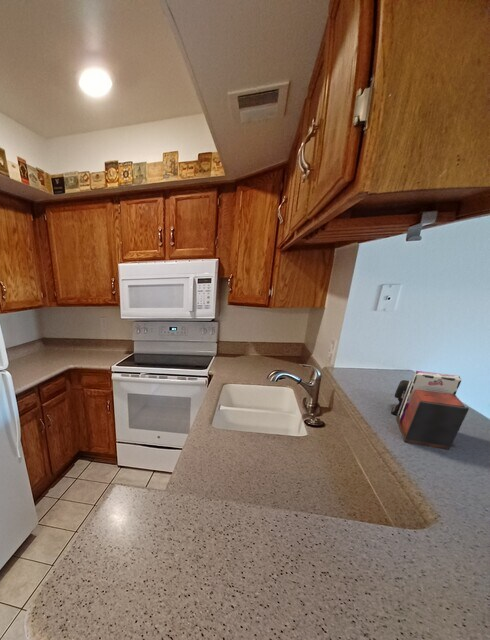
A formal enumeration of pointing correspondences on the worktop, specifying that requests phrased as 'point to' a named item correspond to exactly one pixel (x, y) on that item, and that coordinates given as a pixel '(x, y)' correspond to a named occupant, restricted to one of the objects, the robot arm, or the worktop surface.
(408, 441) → the wooden speaker
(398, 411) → the battery charger
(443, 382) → the candy bar box
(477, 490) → the worktop surface
